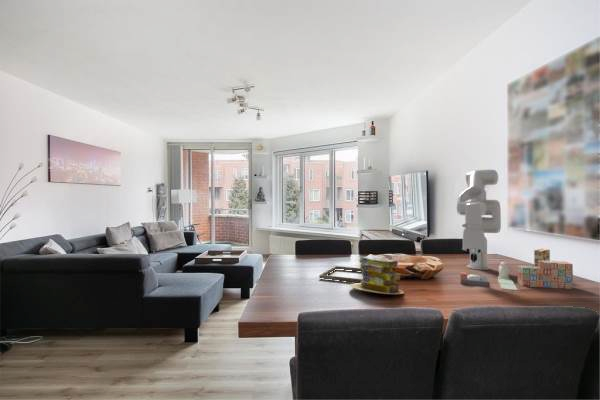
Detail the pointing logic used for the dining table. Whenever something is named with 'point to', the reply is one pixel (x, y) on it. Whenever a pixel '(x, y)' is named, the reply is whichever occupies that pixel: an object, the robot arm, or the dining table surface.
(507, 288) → the track
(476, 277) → the dome
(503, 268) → the pawn
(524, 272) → the stack of blocks
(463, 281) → the grey stepped block
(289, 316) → the dining table surface
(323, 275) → the frame
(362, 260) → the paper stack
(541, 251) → the candy box
